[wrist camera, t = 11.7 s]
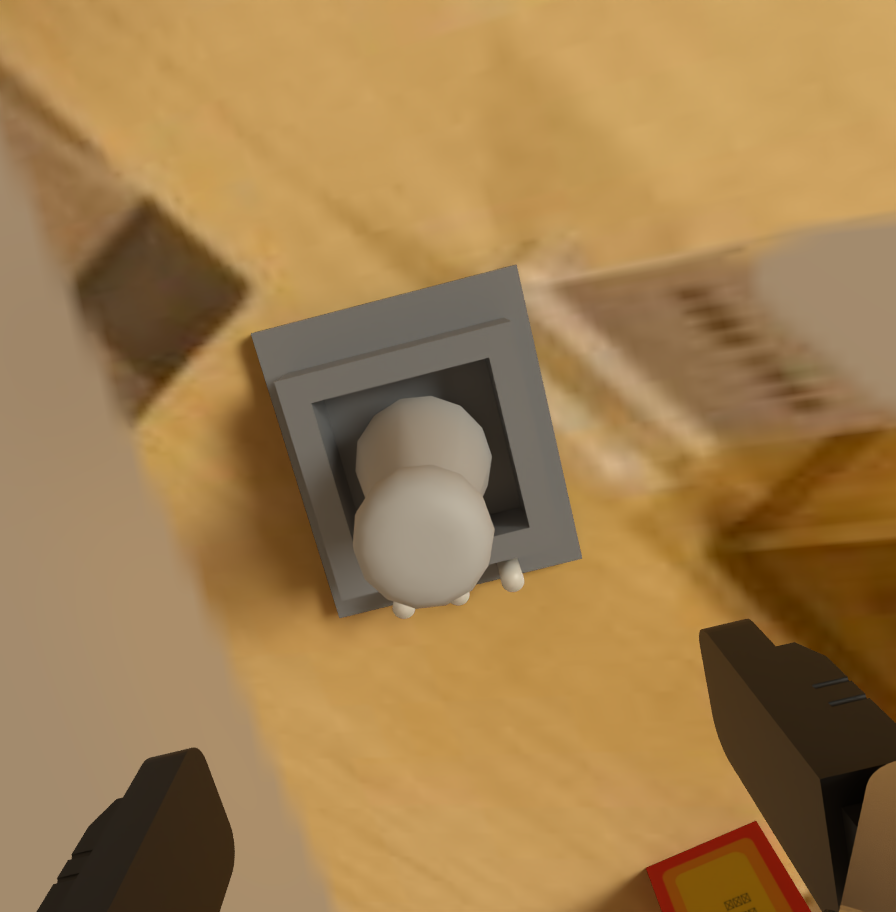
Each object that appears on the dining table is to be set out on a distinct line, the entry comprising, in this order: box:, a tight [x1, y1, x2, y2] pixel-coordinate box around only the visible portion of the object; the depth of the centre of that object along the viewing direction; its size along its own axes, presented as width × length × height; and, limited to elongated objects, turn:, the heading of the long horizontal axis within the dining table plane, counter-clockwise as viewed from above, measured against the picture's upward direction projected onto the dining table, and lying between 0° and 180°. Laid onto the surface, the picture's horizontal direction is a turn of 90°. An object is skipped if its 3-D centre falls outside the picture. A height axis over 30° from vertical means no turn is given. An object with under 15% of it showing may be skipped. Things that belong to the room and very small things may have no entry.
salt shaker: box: [353, 396, 495, 609], centre depth 28 cm, size 6×6×13 cm
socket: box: [251, 265, 582, 619], centre depth 33 cm, size 14×12×4 cm
